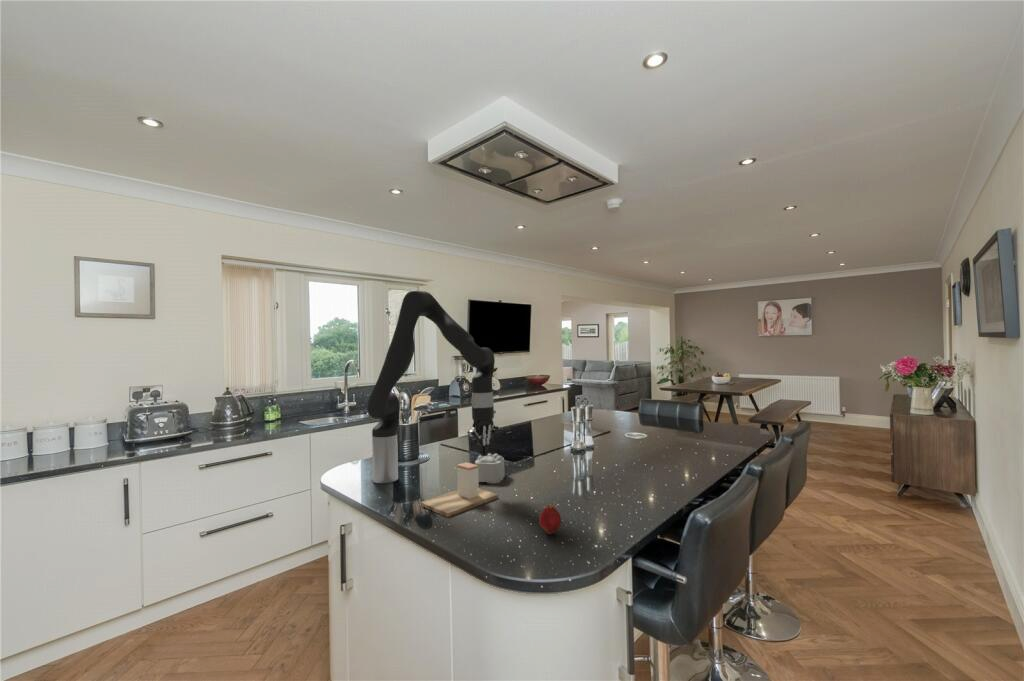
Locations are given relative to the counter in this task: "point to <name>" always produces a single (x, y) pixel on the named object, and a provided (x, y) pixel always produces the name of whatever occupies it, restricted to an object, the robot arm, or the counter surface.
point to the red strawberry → (550, 519)
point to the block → (467, 480)
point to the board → (456, 502)
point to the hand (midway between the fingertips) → (484, 455)
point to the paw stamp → (490, 468)
